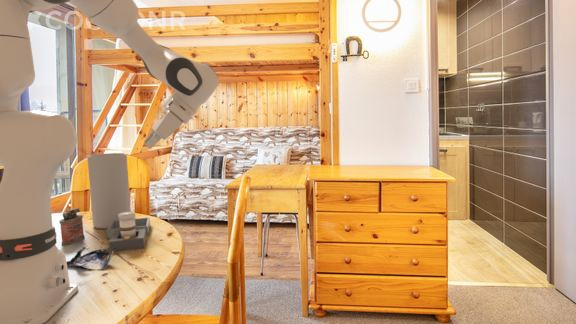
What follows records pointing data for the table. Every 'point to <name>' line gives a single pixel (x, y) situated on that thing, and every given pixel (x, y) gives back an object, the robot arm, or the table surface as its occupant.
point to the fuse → (127, 224)
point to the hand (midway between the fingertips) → (146, 145)
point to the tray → (139, 222)
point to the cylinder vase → (108, 187)
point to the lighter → (71, 227)
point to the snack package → (92, 258)
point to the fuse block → (128, 241)
